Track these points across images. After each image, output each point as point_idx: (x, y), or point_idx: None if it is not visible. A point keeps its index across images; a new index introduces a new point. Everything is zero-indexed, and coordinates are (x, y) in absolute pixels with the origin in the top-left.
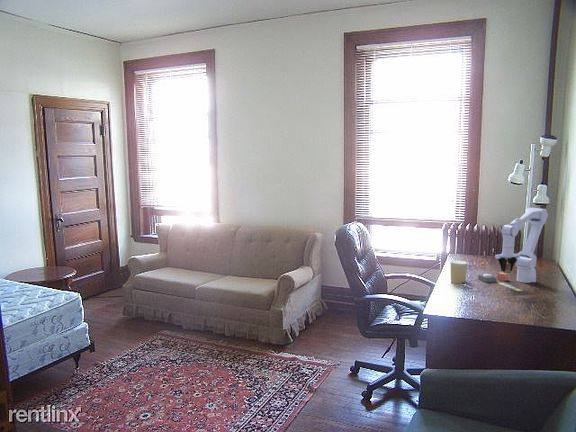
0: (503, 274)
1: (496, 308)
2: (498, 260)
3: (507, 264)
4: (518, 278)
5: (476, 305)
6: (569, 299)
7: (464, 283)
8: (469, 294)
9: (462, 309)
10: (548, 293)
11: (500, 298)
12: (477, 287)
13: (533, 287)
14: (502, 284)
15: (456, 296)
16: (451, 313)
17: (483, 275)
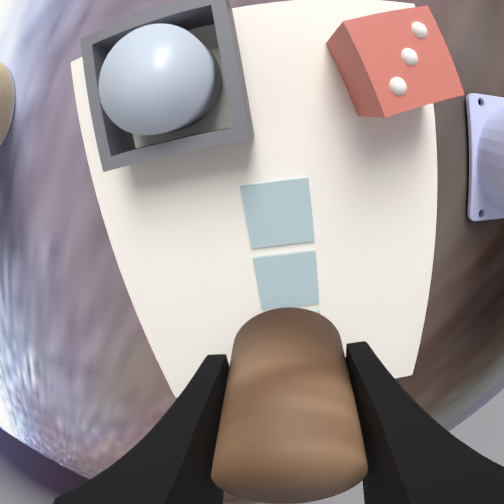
0: (381, 109)
1: (100, 454)
2: (85, 488)
3: (257, 501)
4: (500, 165)
5: (47, 423)
6: (447, 428)
7: (5, 137)
8: (17, 339)
9: (20, 423)
10: (456, 374)
11: (137, 413)
12: (55, 231)
13: (491, 269)
14: (262, 243)
15: None
16: (7, 426)
17: (102, 85)
